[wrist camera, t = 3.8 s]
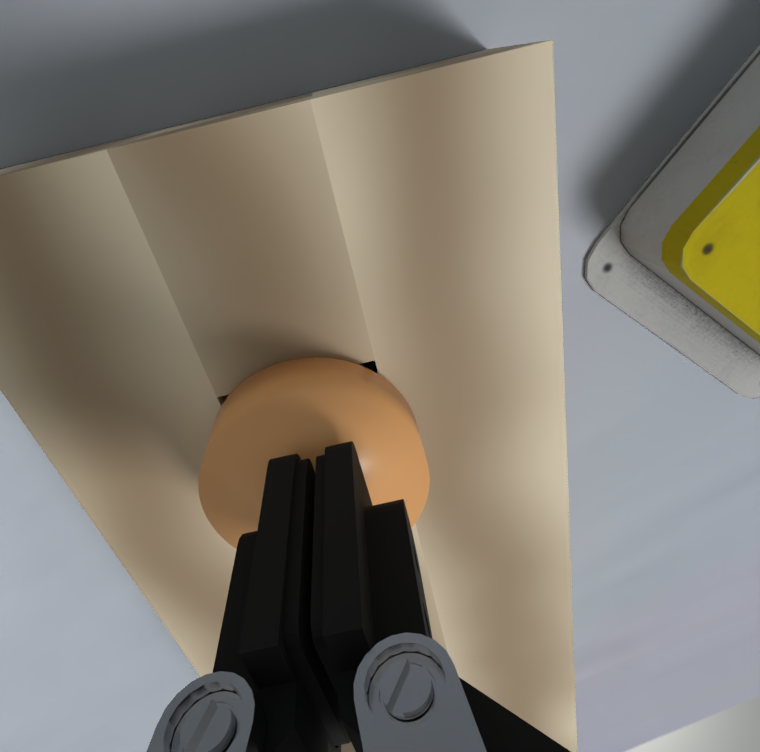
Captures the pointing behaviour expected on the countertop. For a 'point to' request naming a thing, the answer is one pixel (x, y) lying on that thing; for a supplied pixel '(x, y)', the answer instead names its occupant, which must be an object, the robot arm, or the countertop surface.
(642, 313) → the emergency button
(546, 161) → the control block
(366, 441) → the orange knob
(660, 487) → the countertop surface
